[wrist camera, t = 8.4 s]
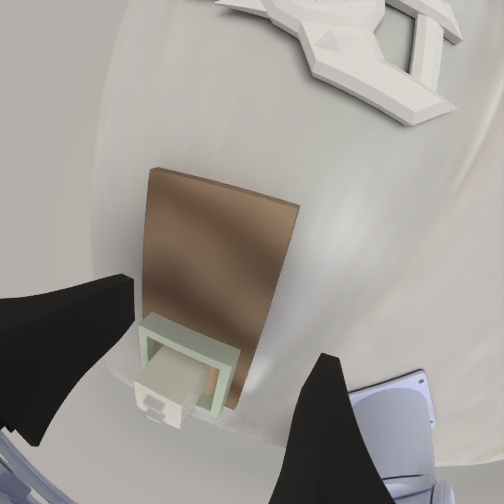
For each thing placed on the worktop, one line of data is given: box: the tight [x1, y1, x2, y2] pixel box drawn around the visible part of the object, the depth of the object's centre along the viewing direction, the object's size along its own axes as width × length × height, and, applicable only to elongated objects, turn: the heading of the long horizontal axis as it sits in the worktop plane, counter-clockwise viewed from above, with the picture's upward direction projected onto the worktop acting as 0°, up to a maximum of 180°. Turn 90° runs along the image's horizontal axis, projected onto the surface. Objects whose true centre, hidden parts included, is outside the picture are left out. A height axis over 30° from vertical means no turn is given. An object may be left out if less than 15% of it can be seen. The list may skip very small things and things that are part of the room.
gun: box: [214, 0, 463, 127], centre depth 10 cm, size 18×3×10 cm
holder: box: [138, 312, 241, 419], centre depth 22 cm, size 8×8×2 cm
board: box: [142, 167, 300, 410], centre depth 21 cm, size 20×10×1 cm, turn 167°
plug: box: [133, 345, 211, 429], centre depth 20 cm, size 4×4×6 cm
